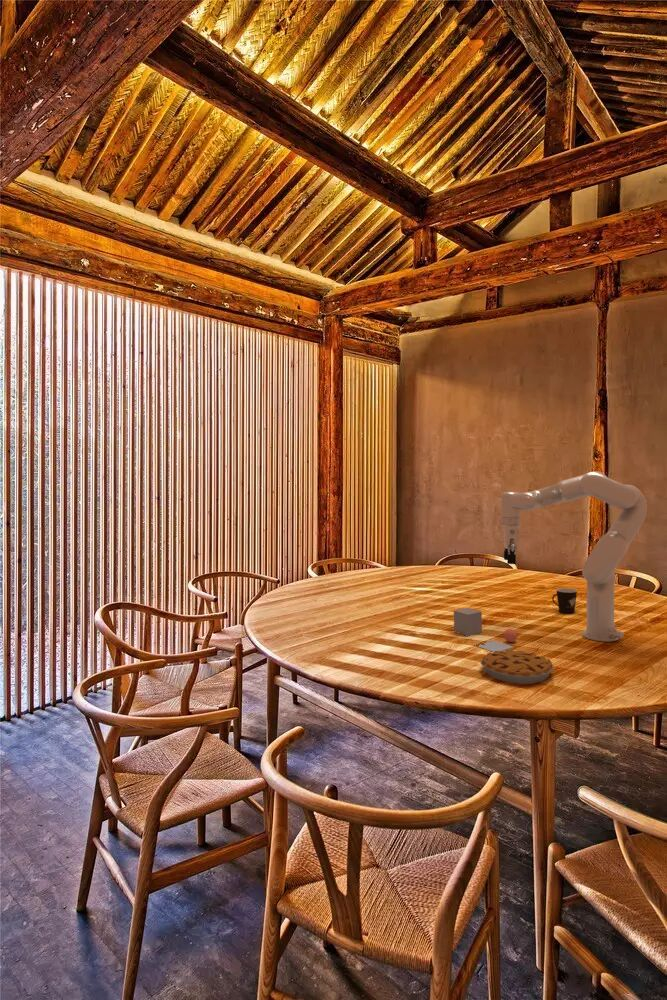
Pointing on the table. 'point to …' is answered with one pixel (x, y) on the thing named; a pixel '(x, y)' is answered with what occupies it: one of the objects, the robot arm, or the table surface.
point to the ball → (510, 635)
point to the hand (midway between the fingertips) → (509, 561)
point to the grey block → (468, 621)
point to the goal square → (495, 646)
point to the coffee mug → (566, 600)
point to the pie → (517, 666)
